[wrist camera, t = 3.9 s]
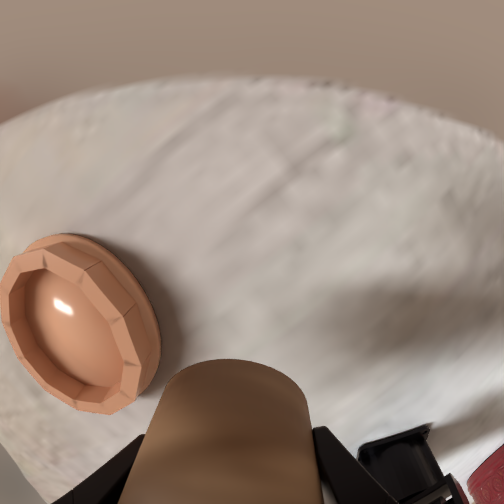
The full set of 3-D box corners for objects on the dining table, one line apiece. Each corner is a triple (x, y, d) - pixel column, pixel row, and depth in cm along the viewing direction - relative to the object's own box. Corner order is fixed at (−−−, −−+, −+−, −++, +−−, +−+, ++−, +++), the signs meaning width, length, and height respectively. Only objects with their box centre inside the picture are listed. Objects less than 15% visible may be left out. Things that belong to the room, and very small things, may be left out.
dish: (130, 215, 14) (107, 222, 12) (184, 398, 17) (175, 425, 14) (2, 249, 15) (-22, 259, 12) (56, 388, 18) (41, 406, 15)
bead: (302, 348, 8) (344, 553, 2) (310, 448, 9) (328, 582, 3) (142, 363, 8) (55, 519, 2) (186, 455, 9) (157, 577, 4)
